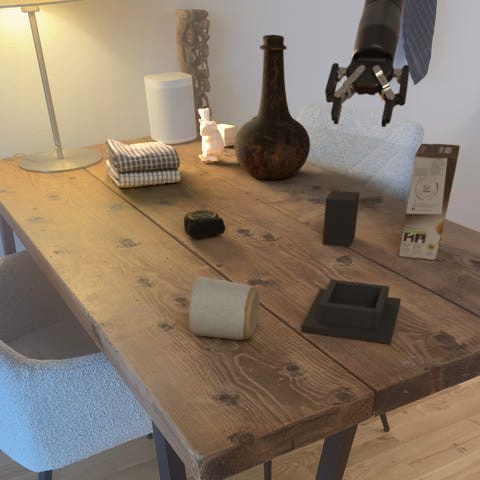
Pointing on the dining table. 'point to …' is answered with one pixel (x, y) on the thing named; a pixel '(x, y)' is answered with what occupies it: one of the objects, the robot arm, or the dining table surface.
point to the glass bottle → (272, 124)
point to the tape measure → (203, 224)
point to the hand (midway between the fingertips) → (359, 122)
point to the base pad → (353, 312)
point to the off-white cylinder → (223, 309)
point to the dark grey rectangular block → (340, 218)
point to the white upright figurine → (210, 137)
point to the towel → (142, 163)
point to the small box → (227, 133)
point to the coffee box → (428, 200)
